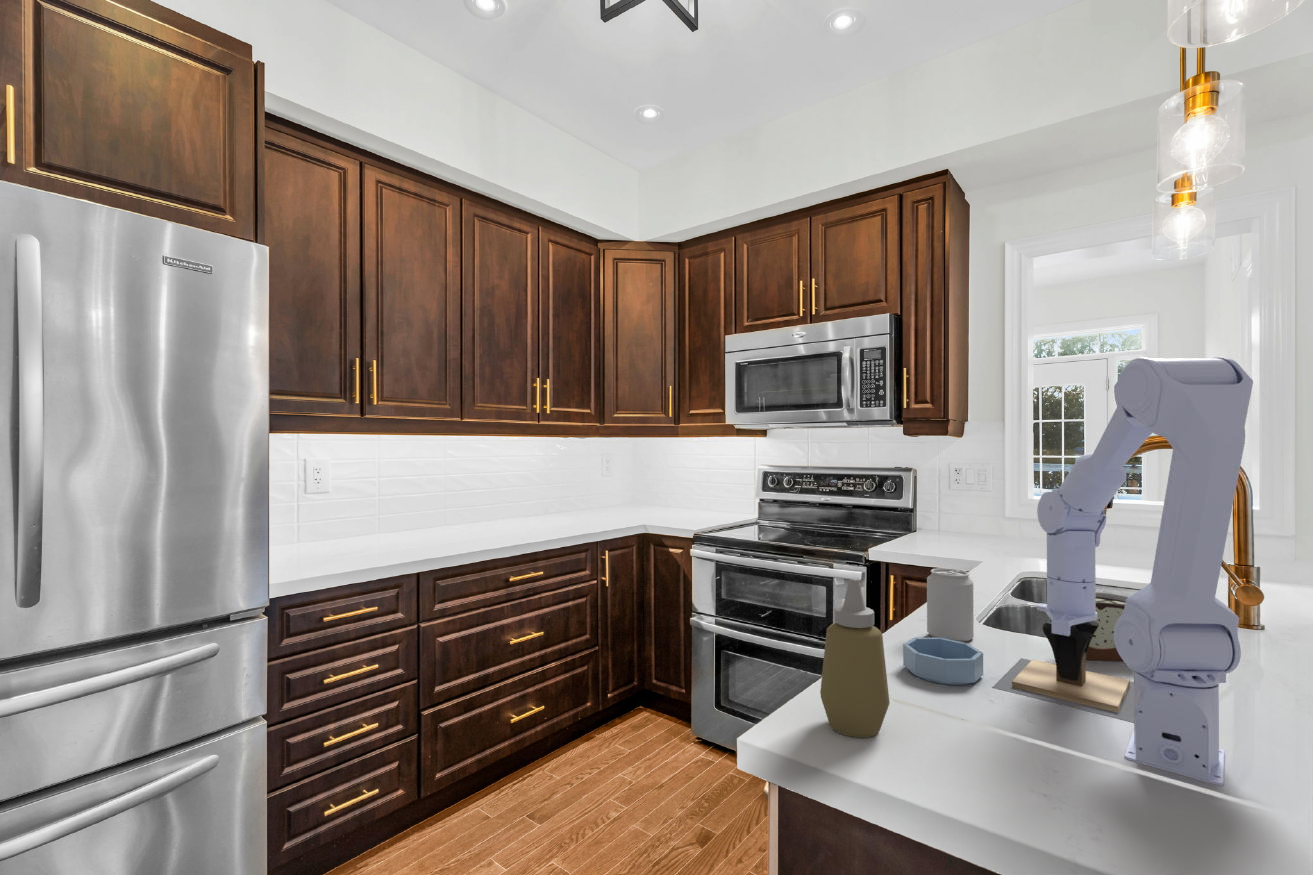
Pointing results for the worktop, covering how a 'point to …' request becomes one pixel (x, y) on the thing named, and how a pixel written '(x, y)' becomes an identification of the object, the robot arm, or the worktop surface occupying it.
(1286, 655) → the worktop surface
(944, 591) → the can
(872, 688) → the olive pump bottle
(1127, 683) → the lid
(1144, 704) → the robot arm
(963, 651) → the bowl
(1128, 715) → the mat
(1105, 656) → the food container
